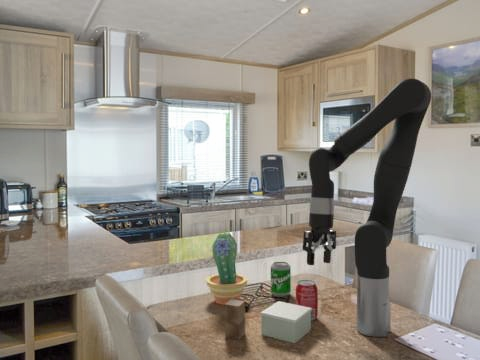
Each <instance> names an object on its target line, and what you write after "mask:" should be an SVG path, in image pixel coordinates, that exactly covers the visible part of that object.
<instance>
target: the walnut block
mask: <svg viewBox="0 0 480 360" xmlns="http://www.w3.org/2000/svg"><path fill="white" fill-rule="evenodd" d="M245 303H246V302H245V300H232V299H231V300H230V301H228V302H227V303H226V304H225V305H224V334H225V335H224V337H225V338H226V339H232V340H239V341H240V340H241V339H242V338H243V337H244V336H245V334H246V312H245V311H246V310H245V309H246V304H245Z"/></svg>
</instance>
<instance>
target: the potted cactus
mask: <svg viewBox="0 0 480 360" xmlns="http://www.w3.org/2000/svg"><path fill="white" fill-rule="evenodd" d="M211 249H212V250H211V251H212V258H213V261H214V262H215V264H216V269H217V272H218V273H217V274H213V275H210V276H208V277H206V279H205V280H206V285H207V287H209V290H210V293H211V294H212V296H213V297H214V303H216V304H218V305H223V306H225V304H226V303H227V302H228V301H230V300H231V299H232V300H239V299H240V297H241V295H242V294H243V292H244V289H245V286H247V284H248V278H247V276H245V275H242V274H237V272H236V271H237V270H236V269H237V268H236V258H237V255H238V254H237V253H238V252H237V251H238V250H237V249H238V243H237V242H236V240H235V238H234V237H233V236H232V234H231V233H230V232H228V233H227V232H223V233H221V232H220V233H219V234H217V237H216V238H215V240H214V241H213V243H212V245H211ZM239 301H240V300H239Z"/></svg>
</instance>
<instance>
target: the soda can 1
mask: <svg viewBox="0 0 480 360" xmlns="http://www.w3.org/2000/svg"><path fill="white" fill-rule="evenodd" d="M291 270H292V269H291V265H290V264H289V263H288V262H287V261H275V262H273V263H272V264H271V265H270V293H271V294H272V295H273V296H274V297H278V298H285V297H288V296H289V295H290V294H291V286H292V285H291V283H292V282H291V273H292V272H291ZM284 296H285V297H284Z"/></svg>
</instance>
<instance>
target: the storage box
mask: <svg viewBox="0 0 480 360" xmlns="http://www.w3.org/2000/svg"><path fill="white" fill-rule="evenodd" d="M311 311H312V308H310V307H305V306H300V305H296V303H289V302H284V301H280V300H278V301H276V302H275V303H273V304H272V305H270V306H269V307H267V308H266V309H264V310H262V311H261V312H260V316H261V335H262V336H265V337H269V338H272V337H273V339H277V340H280V341H285V342H287V343H288V342H289V343H292V344H296V343H297V342H299V340H301V339H302V338H303V337H305V335H307V334H308V333H309V332H310V331H311V330H312V327H311V326H312V324H311V323H312V321H311Z"/></svg>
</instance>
